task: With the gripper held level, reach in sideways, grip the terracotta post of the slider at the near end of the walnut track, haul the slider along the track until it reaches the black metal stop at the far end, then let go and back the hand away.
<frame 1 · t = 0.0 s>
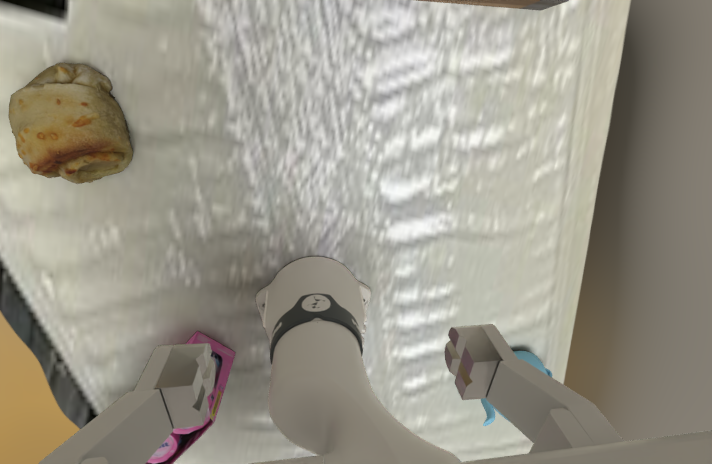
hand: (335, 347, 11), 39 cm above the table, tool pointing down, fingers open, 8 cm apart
teapot: (500, 370, 69), on the table
pastry: (88, 126, 42), on the table
gum box: (178, 380, 59), on the table
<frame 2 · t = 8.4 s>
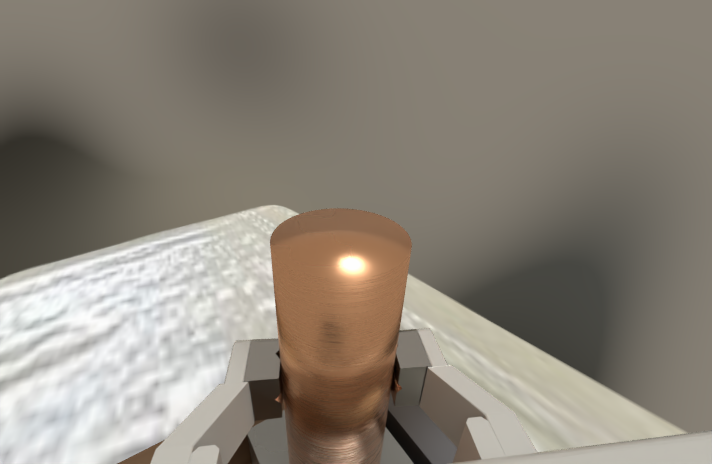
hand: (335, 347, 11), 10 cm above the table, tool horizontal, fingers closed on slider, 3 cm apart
slider: (336, 402, 12), point 8 cm above the table, slide at 0.0 cm, touching gripper
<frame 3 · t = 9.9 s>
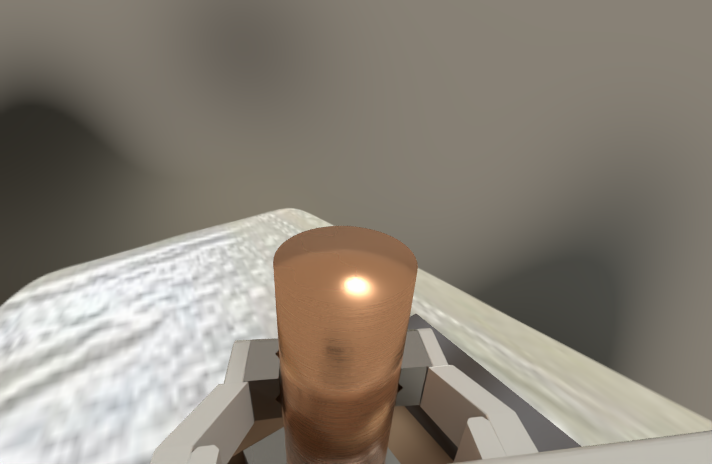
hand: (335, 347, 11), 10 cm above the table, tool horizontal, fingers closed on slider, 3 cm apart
slider: (337, 422, 11), point 8 cm above the table, slide at 3.3 cm, touching gripper
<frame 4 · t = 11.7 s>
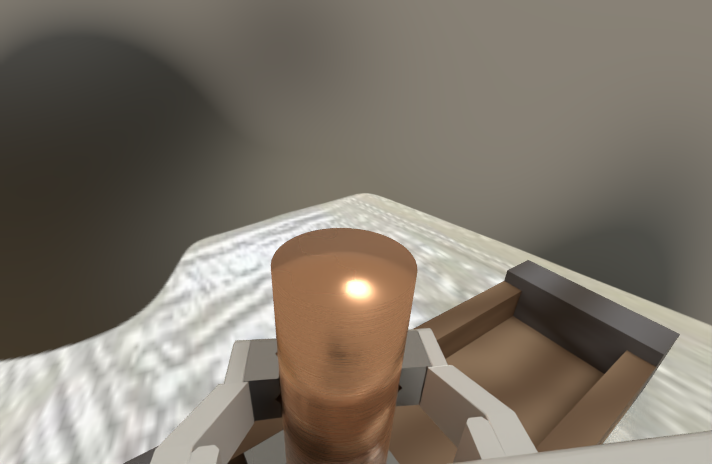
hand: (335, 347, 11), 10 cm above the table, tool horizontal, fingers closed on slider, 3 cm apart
track: (441, 450, 19), on the table
slider: (337, 426, 11), point 8 cm above the table, slide at 16.1 cm, touching gripper
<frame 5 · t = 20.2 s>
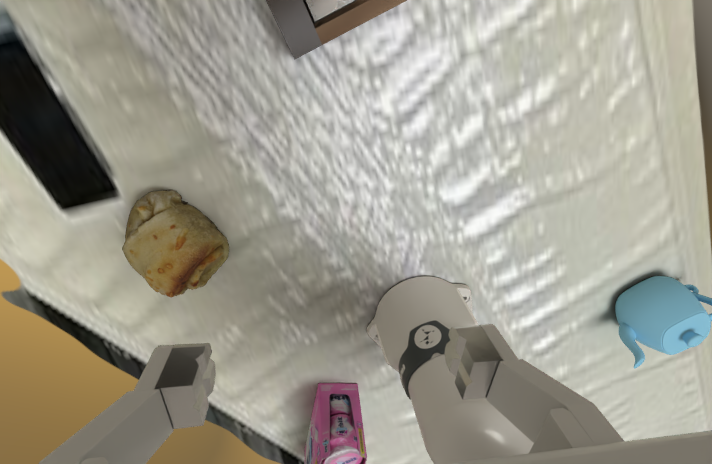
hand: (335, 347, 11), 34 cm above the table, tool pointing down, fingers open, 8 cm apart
teapot: (633, 301, 64), on the table
pastry: (183, 236, 46), on the table
gum box: (329, 418, 69), on the table
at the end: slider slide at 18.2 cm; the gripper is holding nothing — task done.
